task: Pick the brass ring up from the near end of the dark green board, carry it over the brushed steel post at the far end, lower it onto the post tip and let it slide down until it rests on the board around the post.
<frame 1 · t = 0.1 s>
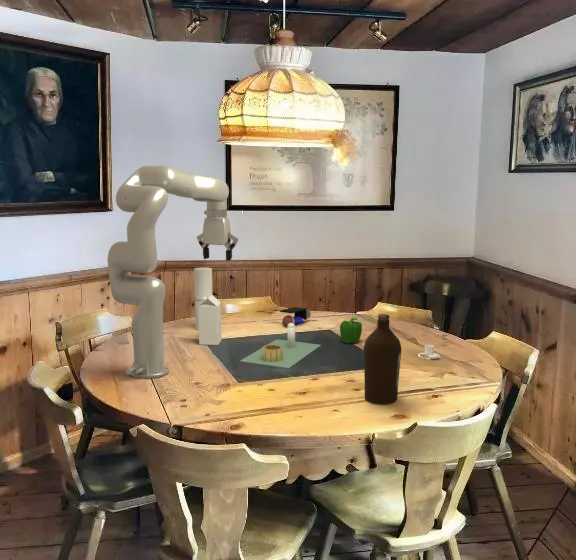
hand: (217, 259, 242), 31 cm above the table, tool pointing down, fingers open, 9 cm apart
cylindrical container: (204, 329, 263), on the table
milk carton: (210, 343, 243), on the table
post board: (282, 356, 226), on the table
olive oil: (381, 399, 185), on the table
bell pepper: (350, 342, 245), on the table
white charger with cable: (424, 359, 226), on the table
figurine character: (295, 325, 272), on the table
brass ring: (272, 358, 218), point 1 cm above the table, touching post board
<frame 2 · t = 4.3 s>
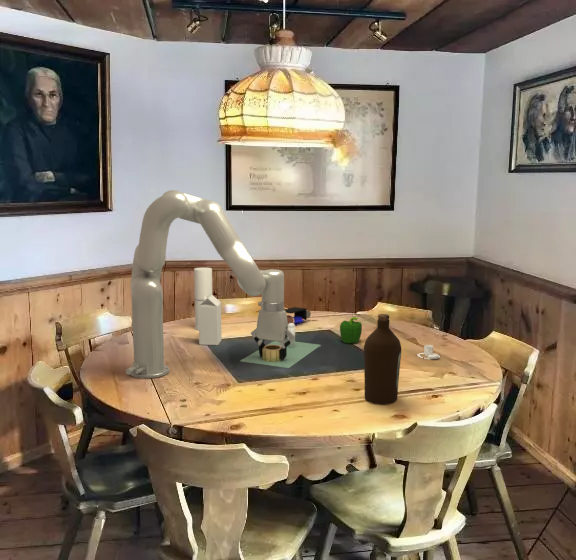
hand: (272, 357, 218), 2 cm above the table, tool pointing down, fingers closed on brass ring, 7 cm apart
brass ring: (272, 358, 218), point 1 cm above the table, touching gripper, post board
everything else where it was.
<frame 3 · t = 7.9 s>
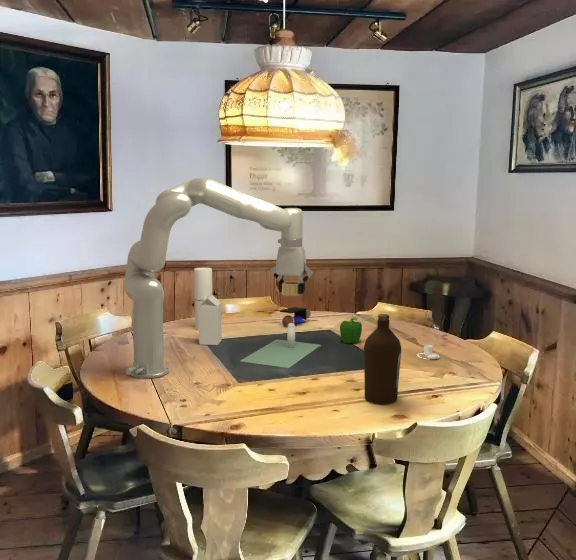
hand: (291, 292, 229), 22 cm above the table, tool pointing down, fingers closed on brass ring, 7 cm apart
brass ring: (291, 293, 229), point 21 cm above the table, touching gripper
everything else where it was.
when the fingers open (9 cm above the table, at t = 11.9 s): brass ring drops 7 cm, resting on post board.
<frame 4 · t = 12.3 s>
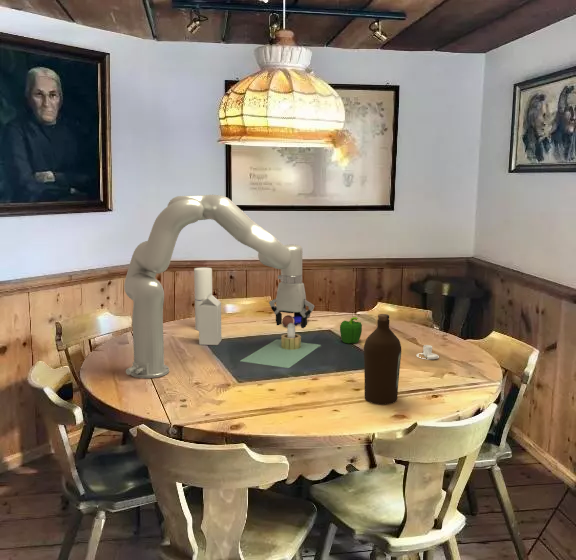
hand: (291, 326, 231), 9 cm above the table, tool pointing down, fingers open, 9 cm apart
brass ring: (291, 346, 233), point 1 cm above the table, touching post board
everything else where it was.
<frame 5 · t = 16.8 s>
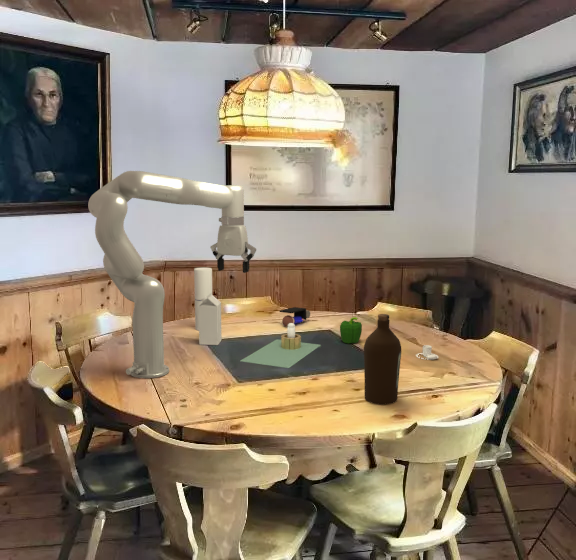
hand: (233, 271, 221), 30 cm above the table, tool pointing down, fingers open, 9 cm apart
at the end: brass ring 0.0 cm from the target spot on the post board, point 1.5 cm above the post board's base; brass ring tilted 0°; the gripper is holding nothing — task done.
